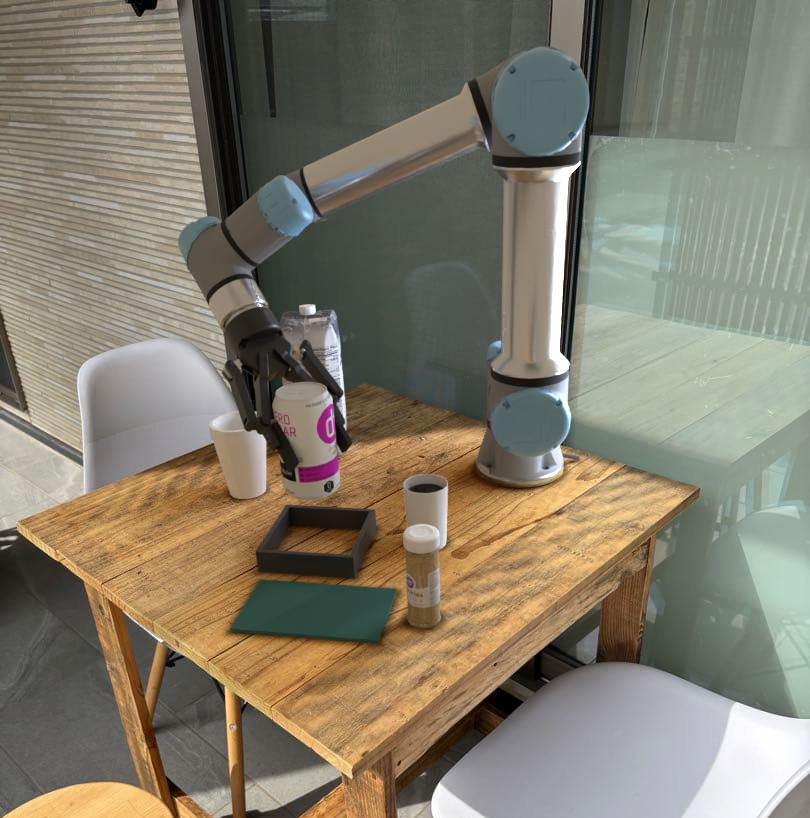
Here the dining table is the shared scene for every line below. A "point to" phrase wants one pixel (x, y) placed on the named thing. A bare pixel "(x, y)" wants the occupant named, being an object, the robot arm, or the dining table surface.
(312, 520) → the square frame
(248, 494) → the foam cup
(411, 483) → the white coffee cup
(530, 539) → the dining table surface
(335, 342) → the juice carton
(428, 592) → the sprinkles bottle
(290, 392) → the supplement can
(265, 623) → the mat
